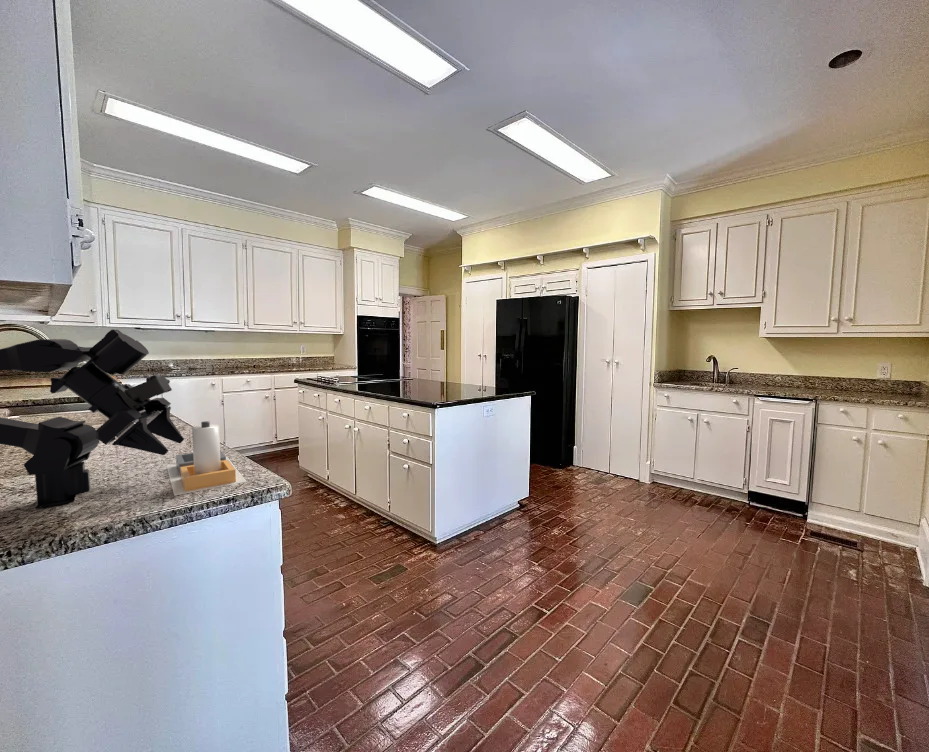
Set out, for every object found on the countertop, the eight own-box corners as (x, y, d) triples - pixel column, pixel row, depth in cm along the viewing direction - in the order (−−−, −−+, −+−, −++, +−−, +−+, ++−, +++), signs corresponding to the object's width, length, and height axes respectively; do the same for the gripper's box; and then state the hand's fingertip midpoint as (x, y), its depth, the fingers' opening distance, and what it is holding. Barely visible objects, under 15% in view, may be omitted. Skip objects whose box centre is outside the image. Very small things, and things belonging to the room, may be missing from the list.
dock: (174, 500, 76) (173, 482, 75) (166, 470, 93) (165, 455, 92) (247, 486, 83) (246, 469, 83) (227, 460, 100) (226, 446, 100)
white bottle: (190, 484, 81) (187, 424, 80) (200, 477, 85) (197, 420, 84) (216, 483, 82) (213, 423, 81) (224, 476, 86) (222, 419, 85)
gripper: (115, 365, 69) (193, 426, 74) (157, 359, 87) (218, 409, 91) (58, 412, 67) (142, 473, 72) (113, 397, 85) (177, 446, 89)
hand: (174, 446), depth 81 cm, fingers open, 9 cm apart
